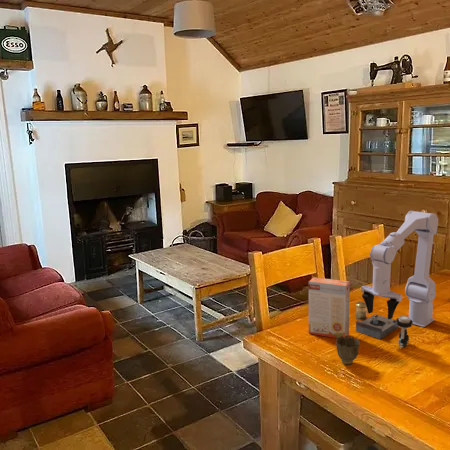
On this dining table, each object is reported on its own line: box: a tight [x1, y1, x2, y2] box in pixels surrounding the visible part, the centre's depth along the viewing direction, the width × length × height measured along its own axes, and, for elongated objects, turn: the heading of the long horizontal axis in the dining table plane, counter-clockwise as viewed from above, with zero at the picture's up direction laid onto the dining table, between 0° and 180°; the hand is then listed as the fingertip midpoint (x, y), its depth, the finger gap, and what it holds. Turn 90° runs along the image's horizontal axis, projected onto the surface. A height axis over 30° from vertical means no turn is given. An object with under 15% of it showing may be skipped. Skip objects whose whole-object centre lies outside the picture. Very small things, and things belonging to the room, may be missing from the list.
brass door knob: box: [355, 301, 368, 321], centre depth 183 cm, size 5×5×6 cm
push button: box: [395, 315, 413, 349], centre depth 158 cm, size 7×5×10 cm
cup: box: [335, 335, 361, 366], centre depth 148 cm, size 7×7×8 cm
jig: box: [355, 313, 400, 340], centre depth 172 cm, size 14×10×4 cm
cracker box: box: [308, 276, 351, 339], centre depth 168 cm, size 14×6×21 cm, turn 61°
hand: (380, 315), depth 161 cm, fingers open, 7 cm apart
